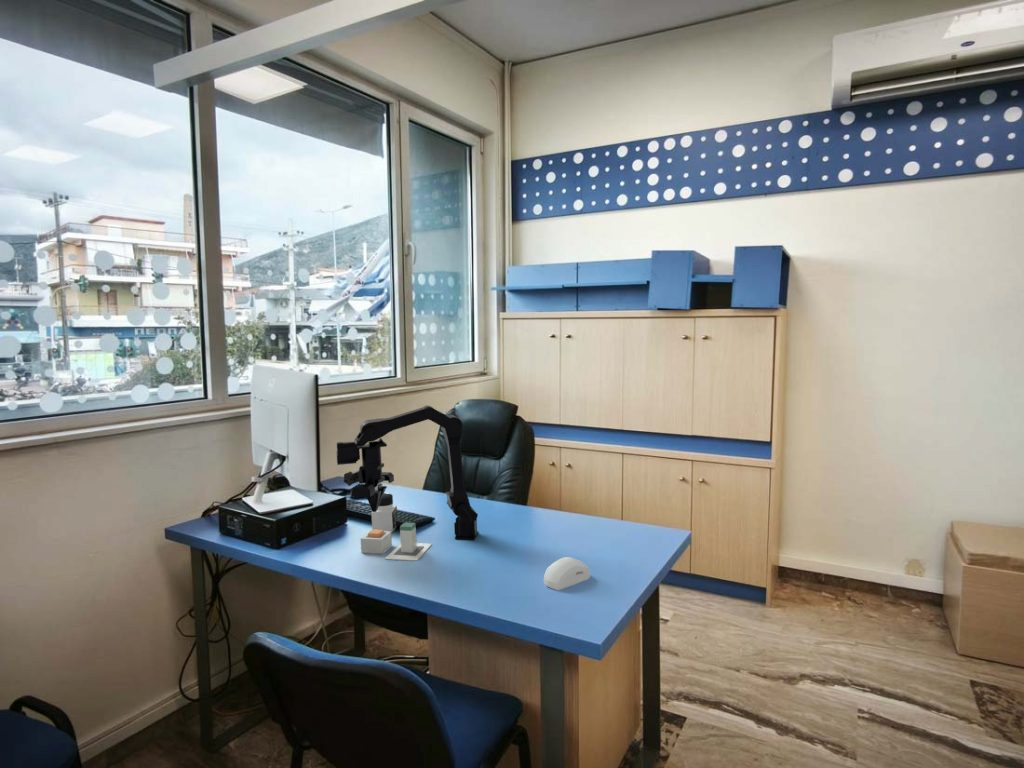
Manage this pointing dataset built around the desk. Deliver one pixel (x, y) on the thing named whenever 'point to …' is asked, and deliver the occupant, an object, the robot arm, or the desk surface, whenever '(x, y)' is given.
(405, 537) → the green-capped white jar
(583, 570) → the computer mouse
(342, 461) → the robot arm
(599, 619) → the desk surface
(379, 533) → the button
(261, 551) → the desk surface
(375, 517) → the medicine bottle
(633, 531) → the desk surface
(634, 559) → the desk surface
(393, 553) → the white grey rectangular pad
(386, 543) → the button housing
